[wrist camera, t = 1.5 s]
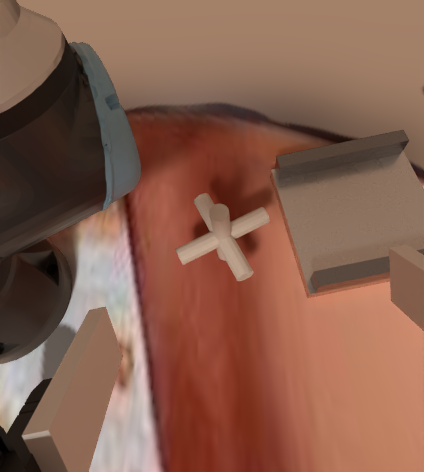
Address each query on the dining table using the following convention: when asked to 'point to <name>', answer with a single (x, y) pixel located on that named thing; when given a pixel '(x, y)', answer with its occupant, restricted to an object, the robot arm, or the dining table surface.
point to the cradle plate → (349, 210)
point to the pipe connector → (223, 235)
